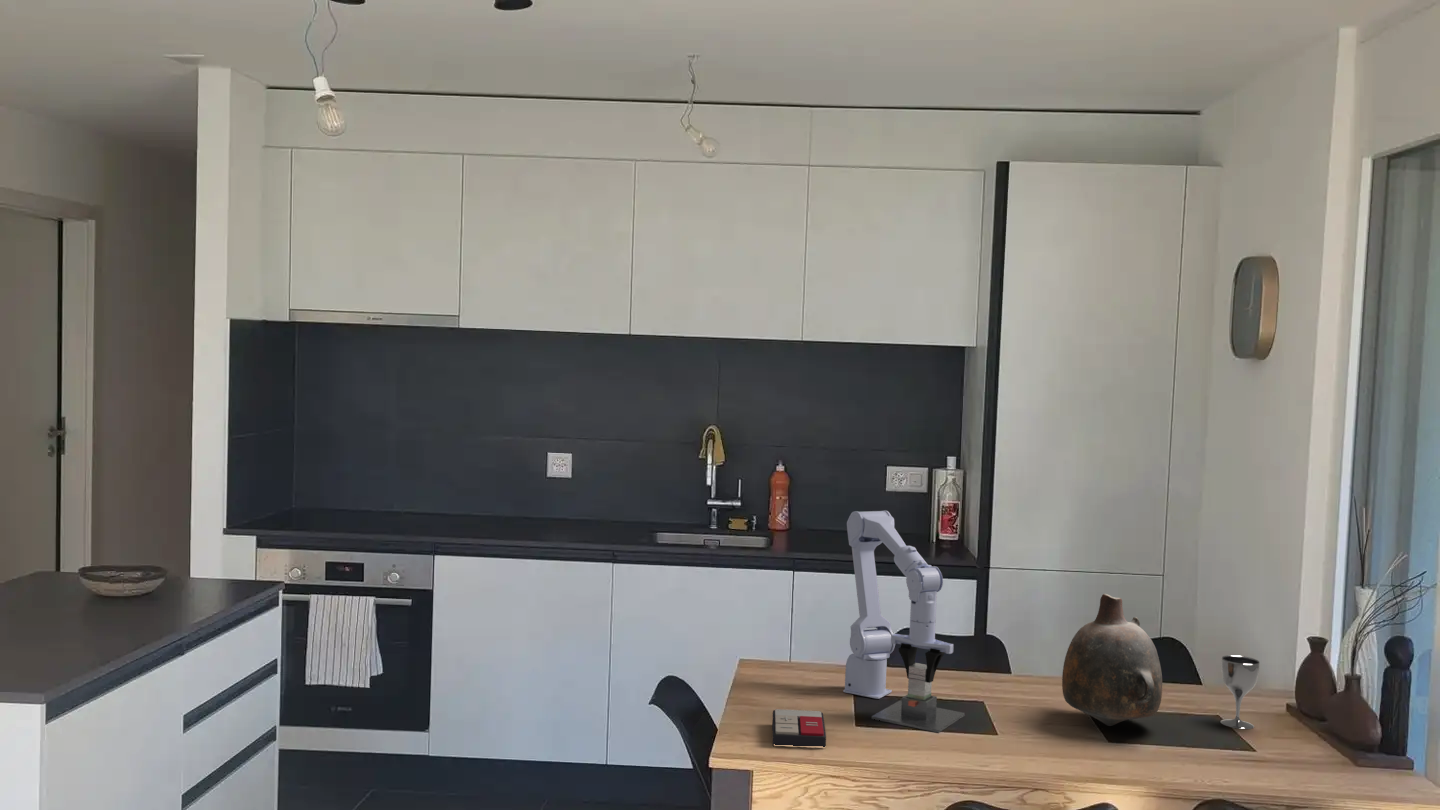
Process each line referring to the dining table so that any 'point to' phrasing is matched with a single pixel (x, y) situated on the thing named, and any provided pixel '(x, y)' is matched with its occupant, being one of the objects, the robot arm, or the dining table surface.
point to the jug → (1112, 668)
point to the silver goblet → (1239, 683)
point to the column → (918, 683)
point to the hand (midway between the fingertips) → (920, 679)
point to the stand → (919, 714)
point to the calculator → (798, 728)
